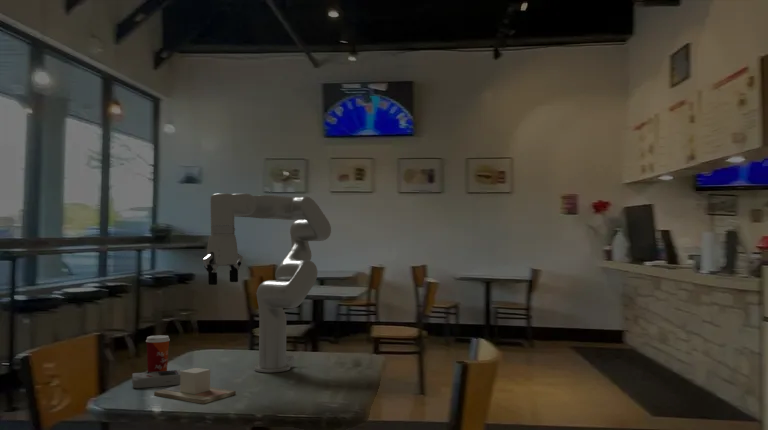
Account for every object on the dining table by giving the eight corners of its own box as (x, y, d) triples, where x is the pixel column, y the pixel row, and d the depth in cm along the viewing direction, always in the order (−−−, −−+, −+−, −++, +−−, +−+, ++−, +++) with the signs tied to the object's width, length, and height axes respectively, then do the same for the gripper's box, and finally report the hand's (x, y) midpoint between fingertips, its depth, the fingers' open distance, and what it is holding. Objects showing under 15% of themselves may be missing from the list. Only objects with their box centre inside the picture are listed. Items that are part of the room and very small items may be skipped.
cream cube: (195, 387, 193) (195, 367, 194) (210, 390, 190) (210, 369, 191) (180, 391, 188) (180, 371, 188) (194, 394, 185) (195, 373, 186)
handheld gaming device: (132, 384, 205) (132, 372, 205) (179, 380, 211) (180, 368, 211) (133, 390, 197) (133, 378, 197) (182, 386, 203) (182, 374, 203)
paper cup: (161, 382, 206) (162, 338, 207) (140, 381, 208) (140, 338, 208) (174, 377, 214) (174, 335, 215) (153, 376, 215) (153, 334, 216)
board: (188, 386, 200) (188, 383, 200) (235, 394, 190) (235, 390, 190) (154, 395, 189) (154, 391, 189) (202, 403, 179) (203, 399, 179)
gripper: (232, 230, 219) (233, 280, 218) (194, 231, 204) (195, 285, 203) (249, 230, 215) (250, 281, 215) (212, 231, 200) (212, 286, 200)
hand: (223, 283), depth 209 cm, fingers open, 9 cm apart
